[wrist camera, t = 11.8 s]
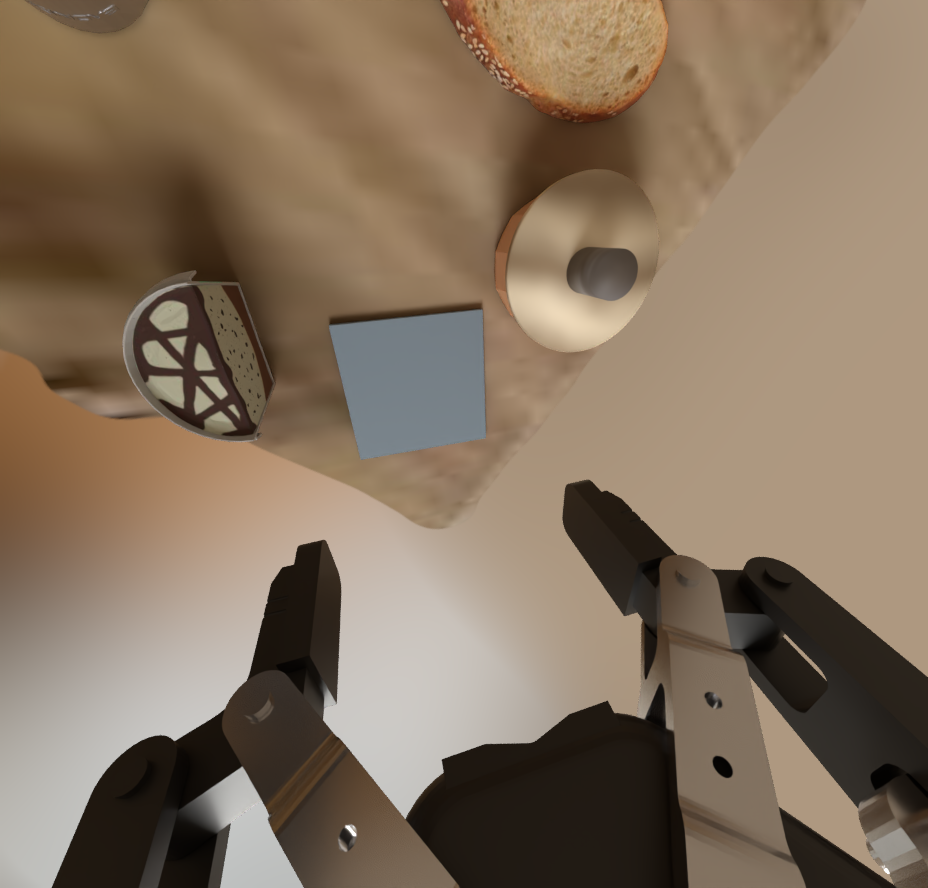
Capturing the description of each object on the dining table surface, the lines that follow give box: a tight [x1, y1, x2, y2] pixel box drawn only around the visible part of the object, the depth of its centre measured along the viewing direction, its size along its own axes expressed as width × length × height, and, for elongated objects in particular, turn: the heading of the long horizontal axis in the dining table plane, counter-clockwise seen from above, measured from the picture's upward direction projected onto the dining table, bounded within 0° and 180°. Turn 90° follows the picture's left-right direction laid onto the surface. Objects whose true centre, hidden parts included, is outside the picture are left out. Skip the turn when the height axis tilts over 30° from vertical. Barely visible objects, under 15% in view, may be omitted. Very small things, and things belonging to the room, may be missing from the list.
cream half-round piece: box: [123, 270, 275, 442], centre depth 29 cm, size 12×6×10 cm, turn 4°
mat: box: [329, 309, 486, 460], centre depth 39 cm, size 15×15×1 cm
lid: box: [505, 169, 659, 352], centre depth 29 cm, size 14×14×5 cm
